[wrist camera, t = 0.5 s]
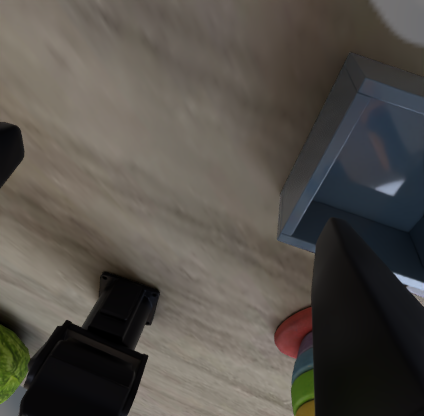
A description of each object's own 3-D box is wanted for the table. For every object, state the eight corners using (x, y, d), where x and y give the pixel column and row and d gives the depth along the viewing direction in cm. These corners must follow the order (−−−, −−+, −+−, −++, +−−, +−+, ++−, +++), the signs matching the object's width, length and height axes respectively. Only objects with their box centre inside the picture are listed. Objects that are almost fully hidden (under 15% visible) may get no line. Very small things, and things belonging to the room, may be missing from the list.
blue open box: (409, 237, 25) (432, 294, 21) (280, 193, 25) (276, 240, 21) (523, 110, 19) (591, 154, 14) (349, 51, 19) (365, 77, 14)
